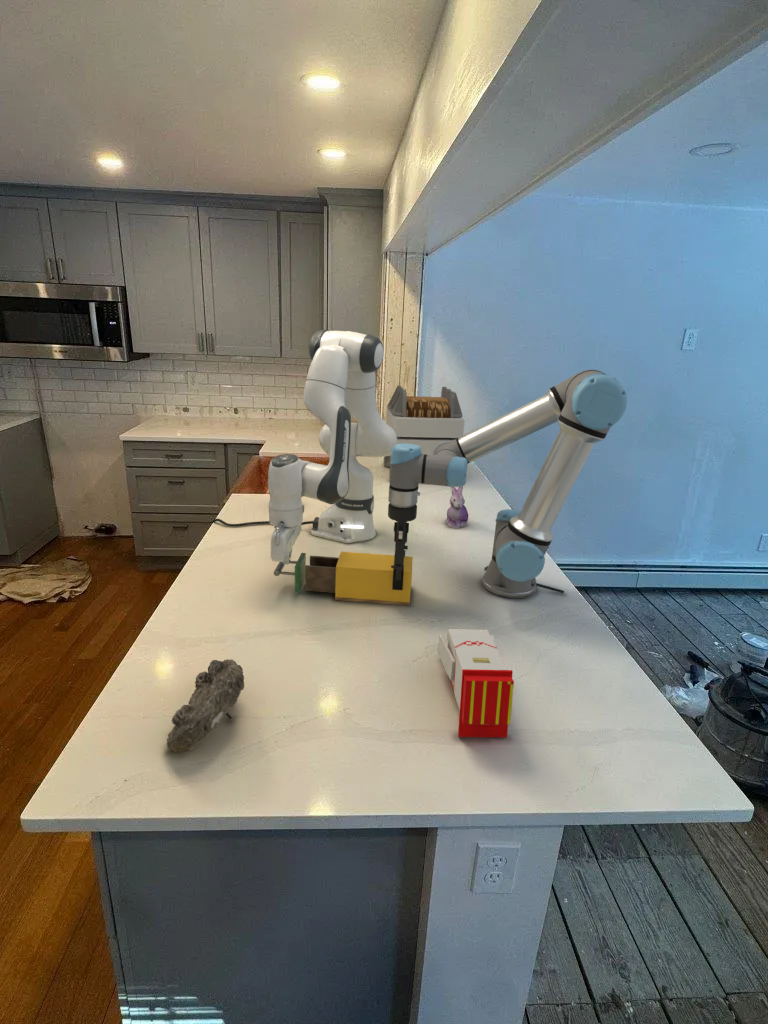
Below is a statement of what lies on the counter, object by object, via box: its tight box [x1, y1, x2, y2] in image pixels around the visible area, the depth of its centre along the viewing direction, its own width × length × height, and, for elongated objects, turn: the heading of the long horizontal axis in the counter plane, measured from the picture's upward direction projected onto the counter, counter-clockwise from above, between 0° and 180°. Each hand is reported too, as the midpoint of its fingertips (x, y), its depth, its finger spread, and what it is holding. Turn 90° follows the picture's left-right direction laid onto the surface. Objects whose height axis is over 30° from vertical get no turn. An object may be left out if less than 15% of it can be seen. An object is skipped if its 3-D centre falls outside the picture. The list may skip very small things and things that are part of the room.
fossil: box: [166, 658, 245, 754], centre depth 106 cm, size 22×10×15 cm
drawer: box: [273, 552, 339, 594], centre depth 156 cm, size 25×9×8 cm, turn 86°
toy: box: [437, 628, 515, 738], centre depth 117 cm, size 12×13×30 cm
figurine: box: [445, 486, 469, 529], centre depth 209 cm, size 9×10×15 cm
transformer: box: [383, 384, 465, 479], centre depth 268 cm, size 34×33×41 cm
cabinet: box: [334, 551, 414, 607], centre depth 155 cm, size 20×10×10 cm, turn 86°
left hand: (287, 562), depth 156 cm, fingers closed
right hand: (398, 580), depth 155 cm, fingers closed on cabinet, 10 cm apart
